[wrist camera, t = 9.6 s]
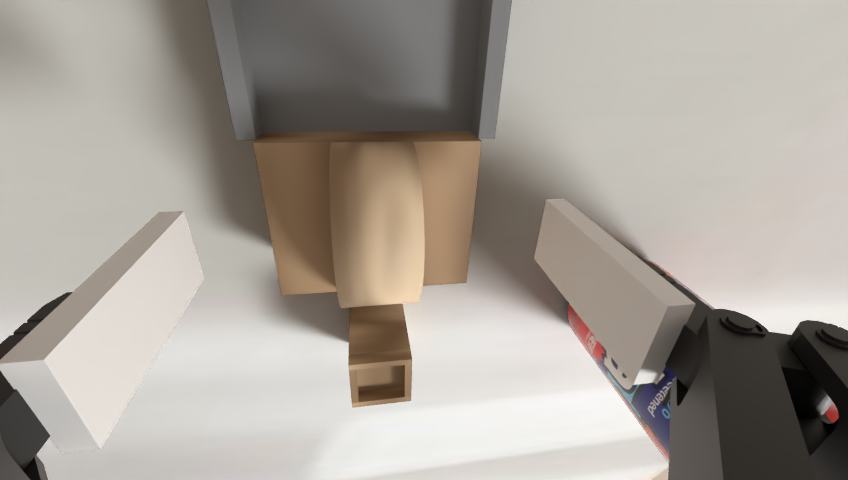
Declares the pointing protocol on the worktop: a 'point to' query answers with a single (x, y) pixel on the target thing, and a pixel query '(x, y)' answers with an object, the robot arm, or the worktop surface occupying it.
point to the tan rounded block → (369, 211)
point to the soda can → (642, 396)
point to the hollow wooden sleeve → (379, 355)
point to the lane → (361, 64)
